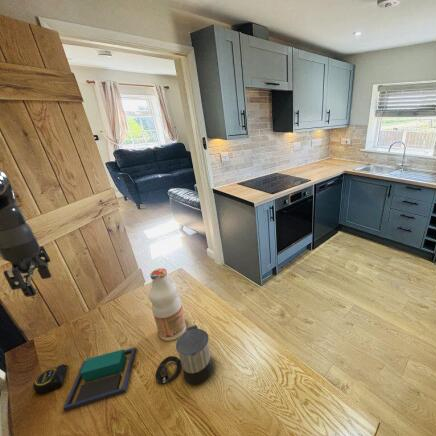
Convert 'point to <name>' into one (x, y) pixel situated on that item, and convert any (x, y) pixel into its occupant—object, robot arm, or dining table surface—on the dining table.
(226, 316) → the dining table surface
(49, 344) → the dining table surface
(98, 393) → the black pad
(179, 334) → the fruit juice
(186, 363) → the milk frother
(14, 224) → the robot arm
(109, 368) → the teal pad
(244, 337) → the dining table surface
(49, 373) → the tape measure
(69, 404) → the dark blue open frame
